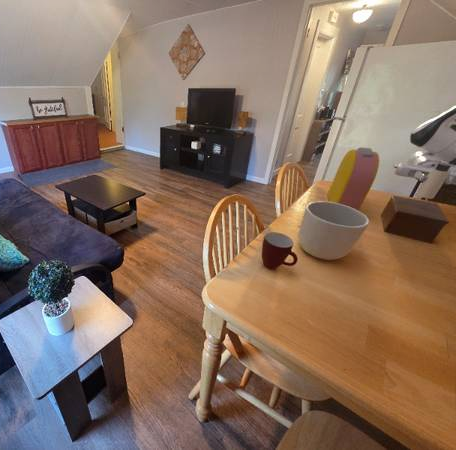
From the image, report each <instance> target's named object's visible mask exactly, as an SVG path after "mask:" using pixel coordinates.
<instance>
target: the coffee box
mask: <svg viewBox="0 0 456 450" xmlns="http://www.w3.org/2000/svg"><path fill="white" fill-rule="evenodd" d="M380 219H381V224H382V228H383V232H384V233H387V234H391V235H395V236H399V237H403V238H409V239H411V240H416V241H420V242H423V243H428V244H432V243H433V242H434V240H435V239H436V238H437V237H438V235H439V234H440V233H441V231H442V230H443V229H444V227H445V226H446V224H445V223H441V222H436V221H431V220H427V219H422V218H417V217H413V216H408V215H404V214H399V213H396V210H395V207H394V204H393V201H392V198H391V197H390V198H389V200H388V202H387V204H386V206H385V207H384V209H383V211H382V212H381V214H380Z"/></svg>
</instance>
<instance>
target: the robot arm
mask: <svg viewBox="0 0 456 450" xmlns="http://www.w3.org/2000/svg"><path fill="white" fill-rule="evenodd" d="M454 120H456V104H455V105H453V106H450V108H448V109H446V110H444V111H443V112H441V113H440V114H438V115H436V116H435V117H432V118H431V119H429V120H427V121H426V122H423V123H421V124H419V125H418V126H417V127H416V128H414V129H413V131H412V132H411V133H410V136H409V141H410V144H412V145H414V146H416V147H418V148H420V149H422V150H418V151H416V152H413V153H412V154H411V155H410V156H409V157H408V159H407V161H406V162H400V163H398V164H394V165H393V168H394V169H395V171H394V174H395V175H396V176H399V177H406V178H412V179H415V180H417V181H420V182H424V181H426V179H427V178H428V176H427V175H428V174H429V172H430V171H431V169H432V168H436V167H437V165H438V163H445V164H450V165H452V166H451V167H450V169H449V171H451V173H450V174H449V176H448V177H447V179H446V180H445V182H444V183H443V185H448V186H449V185H455V186H456V130H454V129H453V128H451V127H450V126H449V125H448V124H449V123H451V122H453V121H454Z"/></svg>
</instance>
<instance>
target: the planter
mask: <svg viewBox="0 0 456 450" xmlns="http://www.w3.org/2000/svg"><path fill="white" fill-rule="evenodd" d="M369 225H370V219H369V217H368V216H367V215H366V214H364V213H363V212H362V211H360V210H359V211H358V210H356V209H354V208H351V207H349V206H346V205H342V204H338V203H333V202H329V201H323V200H322V201H321V200H318V201H311V202H309V203H308V204H307V205H306V206H305V208H304V213H303V216H302V220H301V223H300V226H301V227H299V230H298V242H299V245H300V246H301V248H302V249H303V250H304V251H305V253H307V254H309V255H311V256H312V257H314V258H317V259H321V260H325V261H326V260H327V261H333V260H334V261H335V260H338V259H341V258H344V257H345V256H347V255H348V254H349V253H351V251H352V250H353V248H354V247H355V245H356V244H357V243H358V241H359V240H360V238H361V237H362V235H363V234H364V233H365V230H367V228H368V226H369Z"/></svg>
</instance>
